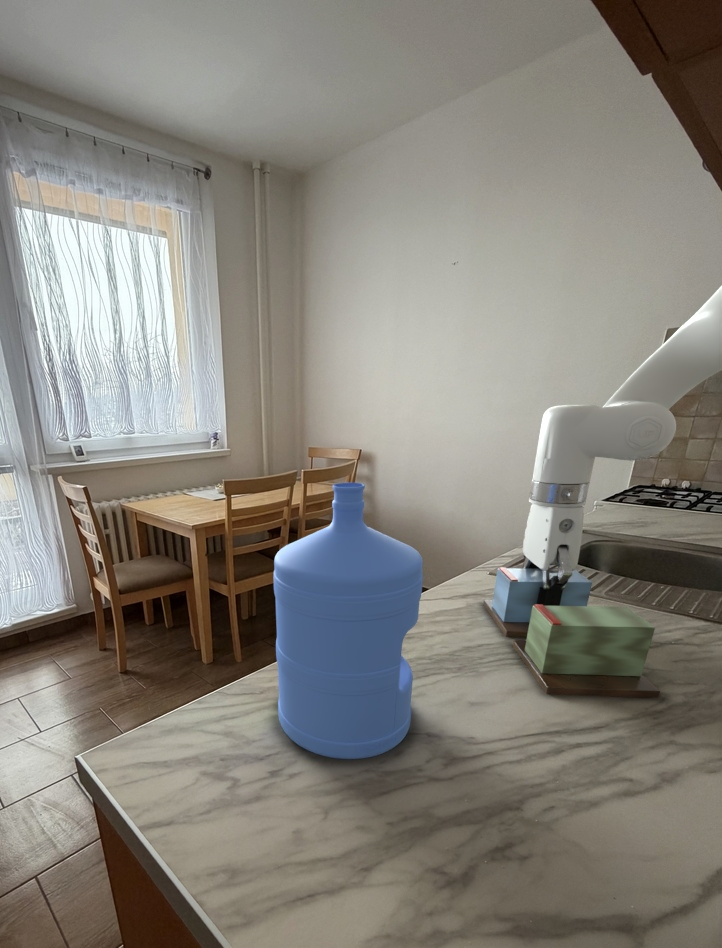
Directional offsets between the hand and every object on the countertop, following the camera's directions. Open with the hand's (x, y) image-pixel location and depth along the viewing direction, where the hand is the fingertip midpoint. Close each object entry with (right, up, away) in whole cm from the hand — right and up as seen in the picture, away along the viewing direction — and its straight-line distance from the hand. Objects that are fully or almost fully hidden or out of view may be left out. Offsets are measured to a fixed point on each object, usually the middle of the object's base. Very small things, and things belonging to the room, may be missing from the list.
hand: (537, 601), depth 79 cm
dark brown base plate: (0, -4, +2) cm, 4 cm away
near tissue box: (-2, -8, -14) cm, 16 cm away
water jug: (-35, -15, -21) cm, 43 cm away
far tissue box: (0, -2, +1) cm, 2 cm away
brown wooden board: (-2, -10, -13) cm, 16 cm away
